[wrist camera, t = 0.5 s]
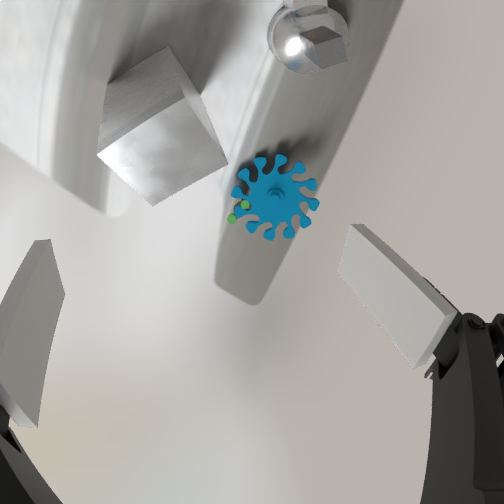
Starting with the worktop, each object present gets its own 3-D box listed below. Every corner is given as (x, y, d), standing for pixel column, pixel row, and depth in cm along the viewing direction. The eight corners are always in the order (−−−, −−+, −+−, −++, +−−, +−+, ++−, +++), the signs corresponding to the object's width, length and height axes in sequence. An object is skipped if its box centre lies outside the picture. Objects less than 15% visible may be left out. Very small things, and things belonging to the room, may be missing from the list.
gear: (301, 141, 31) (332, 225, 34) (299, 141, 37) (326, 214, 39) (207, 177, 34) (241, 256, 36) (219, 172, 39) (248, 241, 42)
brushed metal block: (107, 84, 20) (97, 154, 15) (168, 45, 20) (184, 97, 14) (144, 128, 26) (152, 206, 20) (200, 95, 25) (228, 164, 20)
